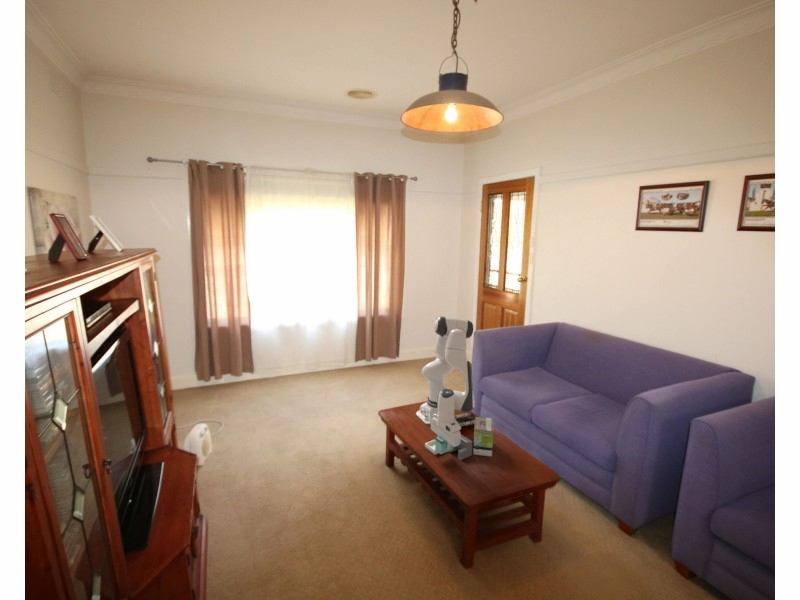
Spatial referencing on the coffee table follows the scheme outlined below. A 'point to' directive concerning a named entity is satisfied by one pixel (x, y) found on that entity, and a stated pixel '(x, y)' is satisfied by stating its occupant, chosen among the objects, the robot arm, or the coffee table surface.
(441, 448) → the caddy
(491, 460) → the coffee table surface
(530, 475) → the coffee table surface
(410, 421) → the coffee table surface
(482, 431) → the tea box
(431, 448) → the tray
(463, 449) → the block
